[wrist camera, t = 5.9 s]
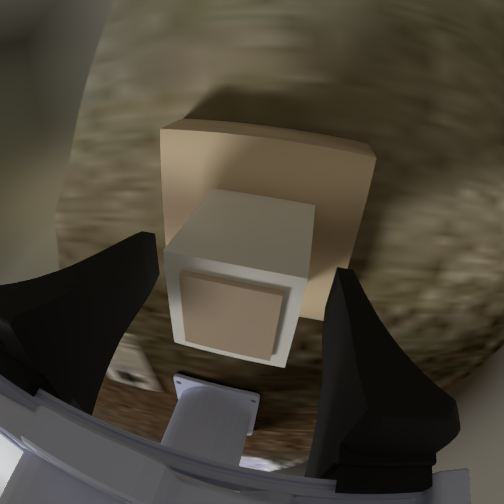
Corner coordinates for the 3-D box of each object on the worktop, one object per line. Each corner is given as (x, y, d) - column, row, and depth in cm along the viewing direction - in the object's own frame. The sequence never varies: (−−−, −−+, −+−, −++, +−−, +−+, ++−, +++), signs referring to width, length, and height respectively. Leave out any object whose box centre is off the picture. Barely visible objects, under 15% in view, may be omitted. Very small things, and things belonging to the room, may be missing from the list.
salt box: (298, 285, 15) (283, 373, 11) (212, 269, 16) (172, 346, 12) (315, 205, 13) (307, 284, 9) (213, 188, 14) (159, 255, 9)
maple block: (330, 286, 19) (329, 321, 16) (189, 259, 20) (170, 289, 18) (366, 140, 14) (376, 158, 11) (187, 116, 15) (160, 128, 12)
